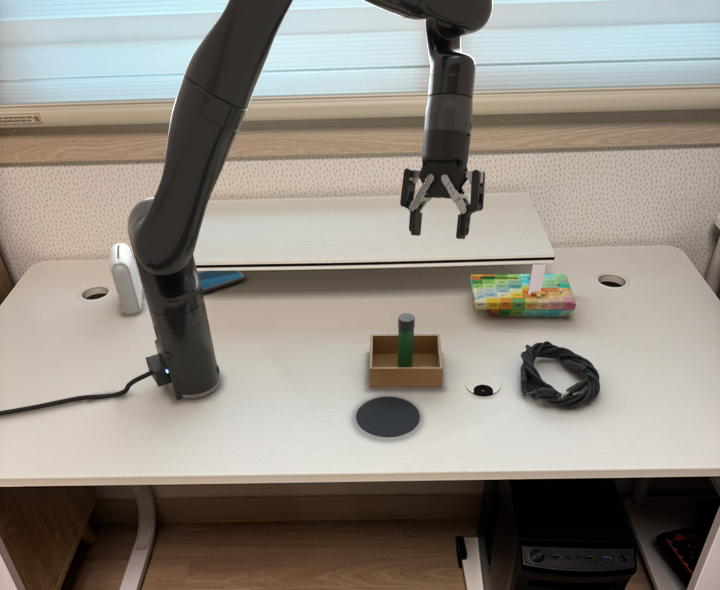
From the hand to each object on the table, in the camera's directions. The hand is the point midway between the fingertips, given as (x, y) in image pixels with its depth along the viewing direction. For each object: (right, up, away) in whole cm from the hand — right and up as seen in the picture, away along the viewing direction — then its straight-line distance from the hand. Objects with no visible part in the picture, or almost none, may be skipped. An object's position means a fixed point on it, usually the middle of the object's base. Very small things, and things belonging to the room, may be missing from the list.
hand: (437, 237), depth 116 cm
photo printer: (-62, -3, +33) cm, 70 cm away
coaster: (-8, -30, +3) cm, 31 cm away
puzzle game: (+20, -4, +29) cm, 35 cm away
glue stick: (-5, -20, +13) cm, 24 cm away
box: (-5, -21, +13) cm, 25 cm away
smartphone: (-47, +3, +38) cm, 60 cm away
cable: (+23, -23, +10) cm, 34 cm away
